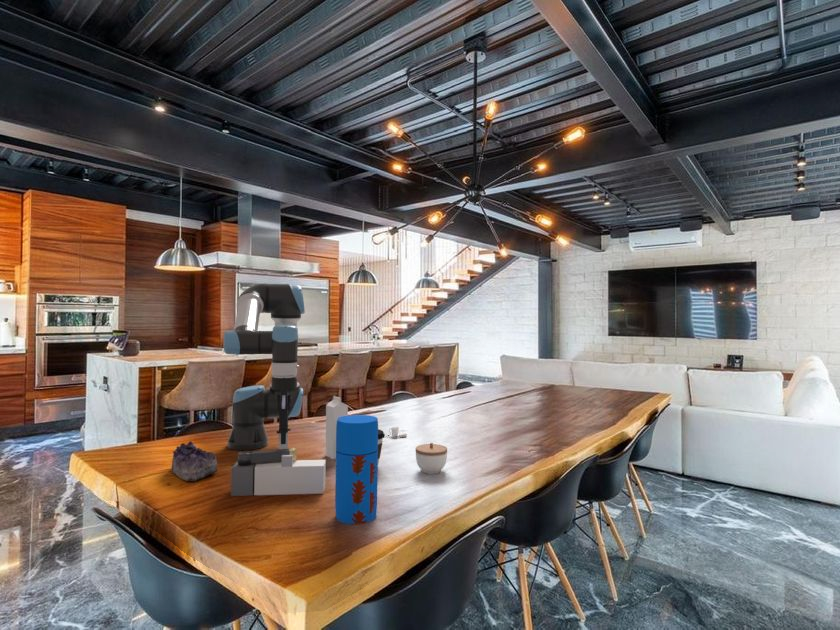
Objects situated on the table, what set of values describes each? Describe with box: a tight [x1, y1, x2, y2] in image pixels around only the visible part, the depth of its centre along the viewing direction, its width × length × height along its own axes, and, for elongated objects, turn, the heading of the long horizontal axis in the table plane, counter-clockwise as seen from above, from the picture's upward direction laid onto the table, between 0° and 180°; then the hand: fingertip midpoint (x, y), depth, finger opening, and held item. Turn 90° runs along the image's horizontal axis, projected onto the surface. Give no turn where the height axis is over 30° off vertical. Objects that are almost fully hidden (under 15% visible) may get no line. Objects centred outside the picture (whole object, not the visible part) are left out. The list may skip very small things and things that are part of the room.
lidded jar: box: [415, 442, 448, 475], centre depth 157 cm, size 11×11×9 cm
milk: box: [325, 395, 349, 460], centre depth 172 cm, size 6×6×22 cm
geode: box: [170, 441, 219, 483], centre depth 151 cm, size 20×12×10 cm, turn 50°
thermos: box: [334, 414, 379, 525], centre depth 120 cm, size 11×11×25 cm
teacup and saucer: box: [388, 426, 408, 438], centre depth 202 cm, size 9×8×4 cm
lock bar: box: [237, 447, 298, 465], centre depth 138 cm, size 4×16×3 cm, turn 109°
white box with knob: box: [230, 455, 327, 497], centre depth 137 cm, size 6×26×11 cm, turn 96°
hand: (283, 453), depth 141 cm, fingers closed
